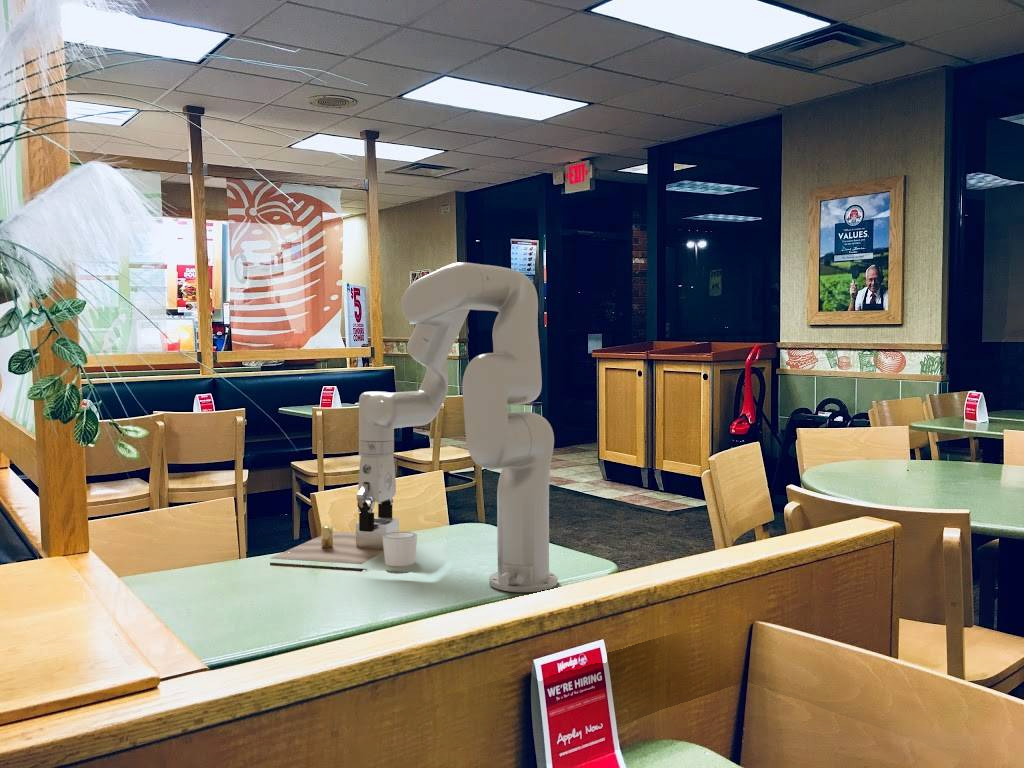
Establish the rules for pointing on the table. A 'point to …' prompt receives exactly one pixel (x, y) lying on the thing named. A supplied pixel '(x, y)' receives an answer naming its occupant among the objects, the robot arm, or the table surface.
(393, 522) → the small white box
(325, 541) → the post
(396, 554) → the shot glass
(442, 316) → the robot arm
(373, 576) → the table surface
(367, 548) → the brown flat slab
